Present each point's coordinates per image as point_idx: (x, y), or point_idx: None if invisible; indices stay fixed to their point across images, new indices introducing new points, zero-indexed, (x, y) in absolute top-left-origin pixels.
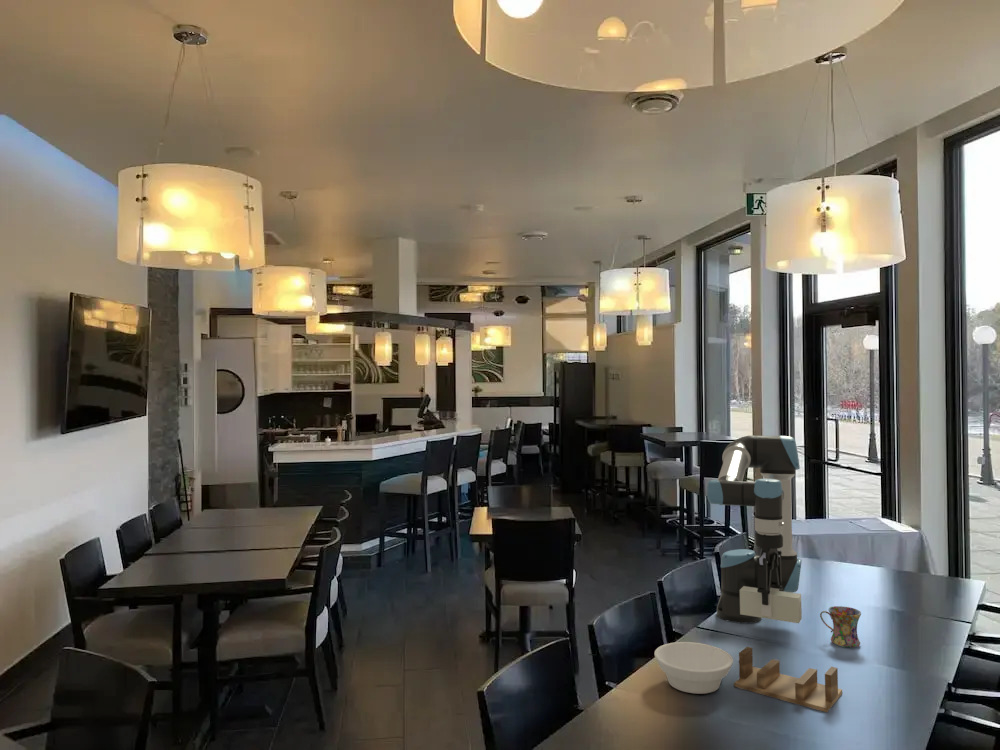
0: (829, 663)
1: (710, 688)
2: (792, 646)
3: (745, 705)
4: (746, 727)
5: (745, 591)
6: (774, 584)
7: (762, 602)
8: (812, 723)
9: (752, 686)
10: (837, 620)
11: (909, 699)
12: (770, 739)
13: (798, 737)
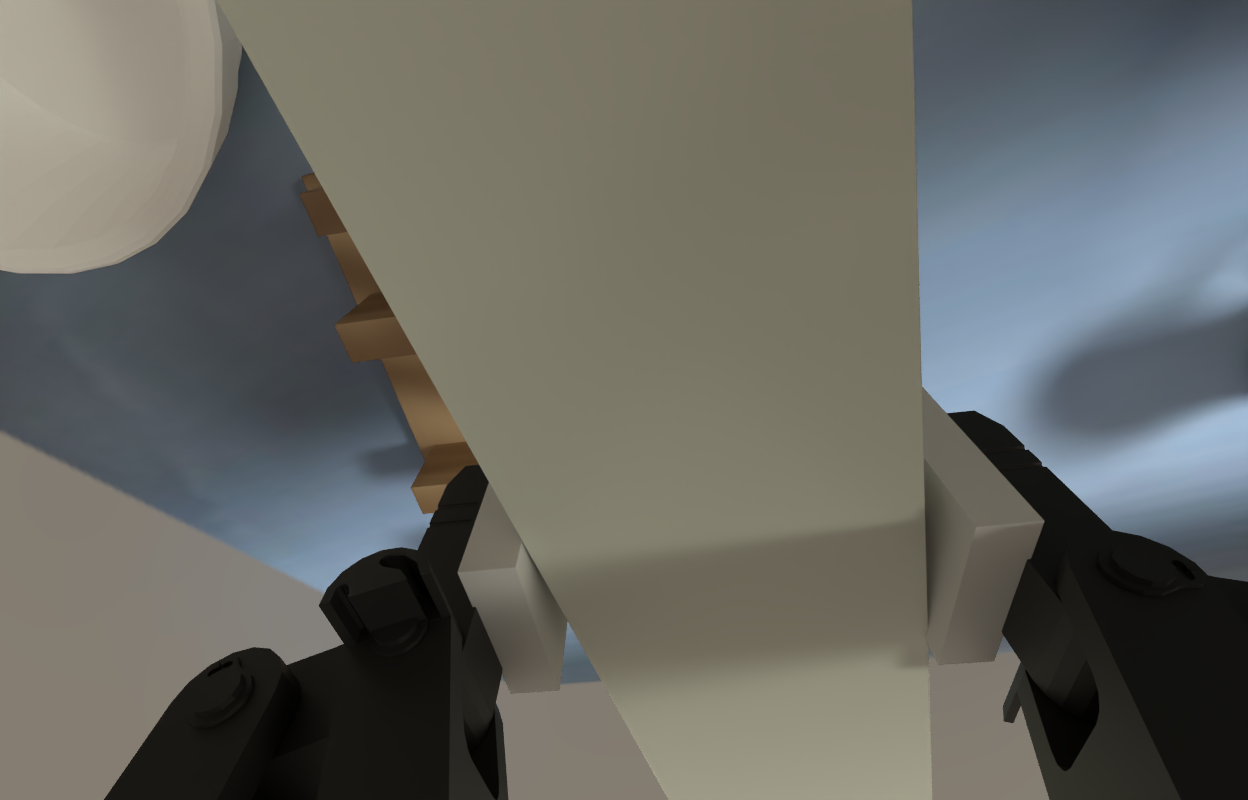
0: (965, 373)
1: (72, 150)
2: (1183, 103)
3: (218, 320)
4: (97, 408)
5: (334, 181)
6: (1080, 677)
7: (449, 496)
8: (350, 524)
9: (360, 271)
10: None
11: None
12: (132, 488)
13: (233, 530)
